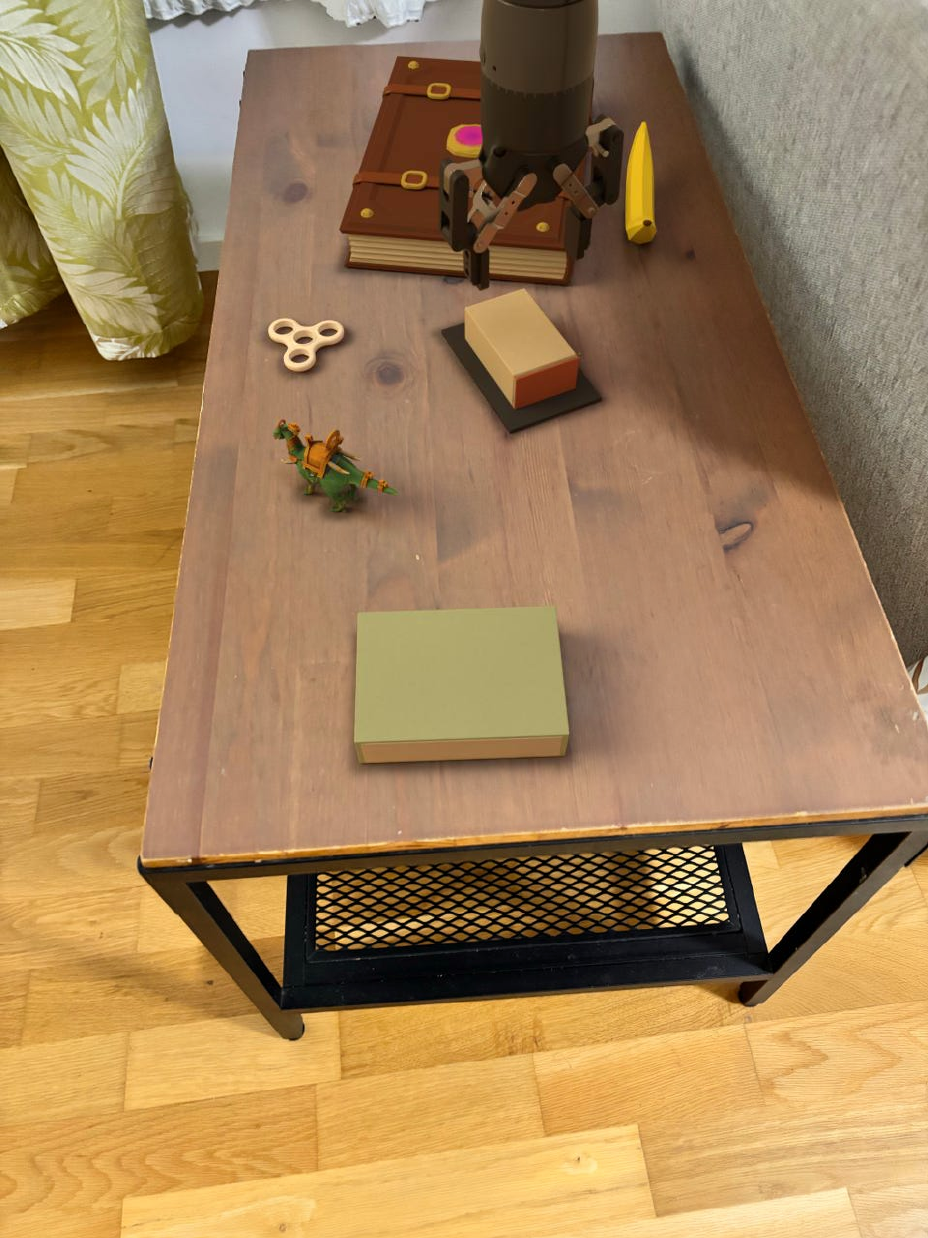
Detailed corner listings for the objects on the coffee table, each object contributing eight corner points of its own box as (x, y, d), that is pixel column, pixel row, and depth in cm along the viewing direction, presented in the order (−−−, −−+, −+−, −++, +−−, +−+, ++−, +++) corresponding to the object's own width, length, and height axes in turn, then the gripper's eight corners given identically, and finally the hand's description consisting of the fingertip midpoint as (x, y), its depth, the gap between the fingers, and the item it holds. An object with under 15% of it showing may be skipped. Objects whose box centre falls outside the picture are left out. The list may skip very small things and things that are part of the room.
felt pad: (601, 400, 81) (602, 397, 80) (510, 433, 79) (510, 430, 78) (527, 304, 87) (527, 301, 87) (441, 333, 85) (441, 329, 85)
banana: (650, 166, 99) (660, 107, 94) (652, 281, 89) (664, 222, 84) (623, 165, 99) (632, 106, 94) (622, 280, 89) (632, 221, 84)
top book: (575, 388, 81) (579, 357, 78) (514, 410, 79) (516, 379, 76) (522, 318, 86) (524, 287, 83) (464, 338, 84) (464, 307, 81)
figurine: (295, 459, 77) (277, 386, 70) (412, 520, 74) (407, 449, 67) (271, 482, 76) (251, 411, 69) (390, 546, 72) (382, 477, 65)
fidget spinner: (346, 325, 86) (345, 319, 85) (336, 374, 82) (335, 368, 82) (272, 322, 86) (270, 315, 85) (259, 371, 83) (257, 364, 82)
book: (342, 267, 90) (335, 222, 86) (397, 94, 107) (394, 48, 103) (573, 287, 89) (578, 241, 84) (593, 107, 105) (599, 61, 101)
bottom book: (552, 631, 68) (555, 605, 65) (565, 757, 63) (569, 735, 60) (362, 637, 68) (357, 612, 65) (359, 764, 62) (353, 743, 60)
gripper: (464, 112, 57) (467, 323, 71) (660, 58, 60) (627, 270, 74) (415, 57, 61) (427, 267, 75) (603, 8, 64) (581, 219, 78)
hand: (527, 268), depth 74 cm, fingers open, 8 cm apart
